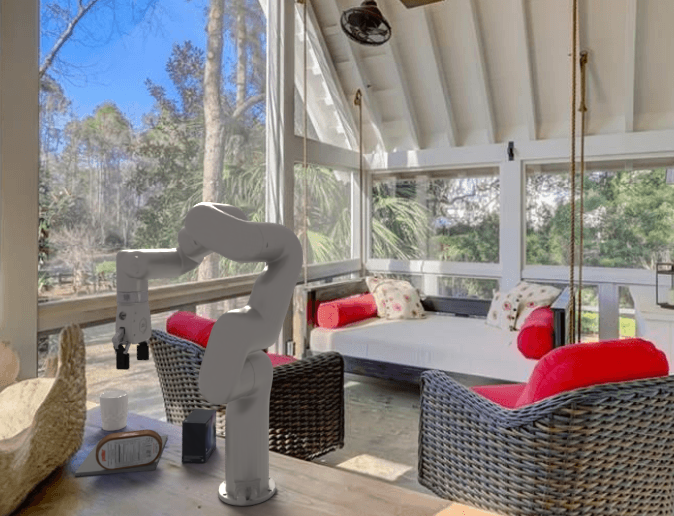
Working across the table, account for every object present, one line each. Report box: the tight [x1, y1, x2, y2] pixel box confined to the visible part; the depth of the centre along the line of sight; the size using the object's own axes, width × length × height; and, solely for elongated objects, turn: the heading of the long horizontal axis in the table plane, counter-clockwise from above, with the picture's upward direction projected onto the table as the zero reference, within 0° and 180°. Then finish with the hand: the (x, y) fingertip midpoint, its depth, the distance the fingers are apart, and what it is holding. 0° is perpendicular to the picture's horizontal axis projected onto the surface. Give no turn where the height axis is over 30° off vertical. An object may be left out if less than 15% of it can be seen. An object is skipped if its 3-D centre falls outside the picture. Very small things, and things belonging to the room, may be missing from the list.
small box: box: [181, 408, 217, 464], centre depth 128 cm, size 11×6×10 cm, turn 179°
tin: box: [96, 429, 163, 470], centre depth 119 cm, size 15×3×8 cm, turn 111°
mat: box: [74, 434, 169, 477], centre depth 127 cm, size 20×18×1 cm
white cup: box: [99, 389, 129, 432], centre depth 147 cm, size 8×8×10 cm
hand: (133, 364), depth 126 cm, fingers open, 9 cm apart
